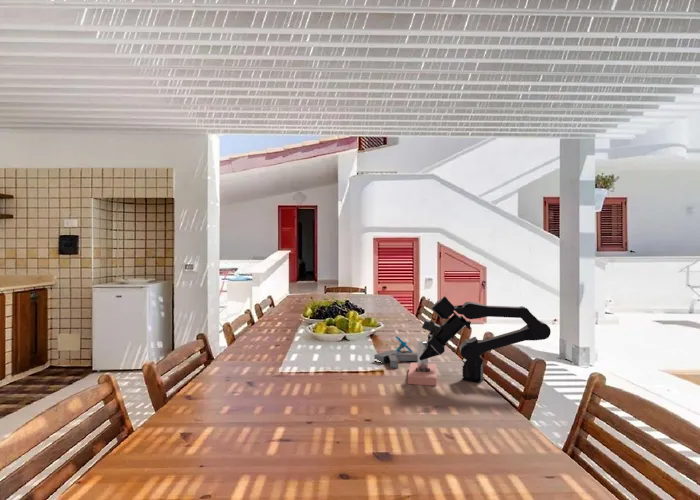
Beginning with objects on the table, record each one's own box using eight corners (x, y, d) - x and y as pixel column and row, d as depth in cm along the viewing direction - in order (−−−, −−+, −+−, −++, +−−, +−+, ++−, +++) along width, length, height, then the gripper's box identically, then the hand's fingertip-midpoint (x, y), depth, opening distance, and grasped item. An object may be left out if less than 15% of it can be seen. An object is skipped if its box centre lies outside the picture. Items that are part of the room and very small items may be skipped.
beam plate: (410, 368, 178) (410, 362, 178) (436, 370, 176) (436, 363, 176) (407, 383, 158) (407, 376, 158) (436, 385, 157) (436, 378, 157)
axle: (429, 376, 168) (430, 341, 168) (425, 378, 165) (425, 343, 164) (420, 374, 170) (420, 340, 170) (415, 377, 167) (415, 342, 167)
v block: (421, 360, 191) (421, 353, 191) (394, 369, 177) (394, 361, 177) (396, 355, 200) (396, 348, 200) (369, 363, 187) (369, 356, 187)
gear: (414, 351, 201) (398, 335, 202) (405, 361, 200) (389, 344, 201) (411, 349, 212) (396, 334, 213) (403, 358, 211) (388, 343, 212)
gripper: (435, 308, 176) (406, 335, 178) (435, 316, 157) (403, 345, 159) (455, 329, 174) (426, 356, 176) (457, 339, 156) (425, 369, 158)
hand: (420, 356), depth 167 cm, fingers open, 9 cm apart
